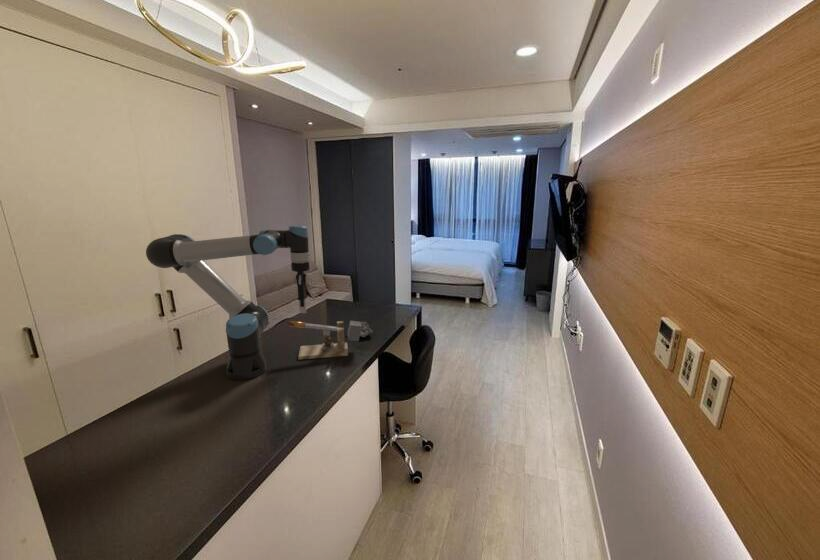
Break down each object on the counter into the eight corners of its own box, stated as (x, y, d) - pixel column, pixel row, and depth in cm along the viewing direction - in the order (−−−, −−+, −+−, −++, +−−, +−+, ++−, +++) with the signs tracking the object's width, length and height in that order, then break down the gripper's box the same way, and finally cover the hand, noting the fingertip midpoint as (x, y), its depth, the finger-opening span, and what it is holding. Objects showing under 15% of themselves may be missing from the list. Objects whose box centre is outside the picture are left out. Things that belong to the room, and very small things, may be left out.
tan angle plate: (298, 359, 154) (296, 332, 151) (300, 348, 164) (299, 323, 161) (348, 355, 158) (347, 329, 155) (347, 345, 169) (346, 320, 166)
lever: (287, 333, 152) (289, 318, 151) (289, 328, 158) (291, 313, 157) (358, 341, 160) (361, 326, 159) (357, 336, 166) (360, 321, 165)
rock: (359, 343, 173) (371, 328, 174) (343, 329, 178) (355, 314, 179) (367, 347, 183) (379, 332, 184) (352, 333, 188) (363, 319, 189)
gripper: (308, 264, 143) (310, 317, 149) (310, 258, 156) (312, 307, 162) (289, 264, 142) (292, 318, 148) (292, 258, 154) (295, 308, 160)
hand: (303, 312), depth 155 cm, fingers closed
